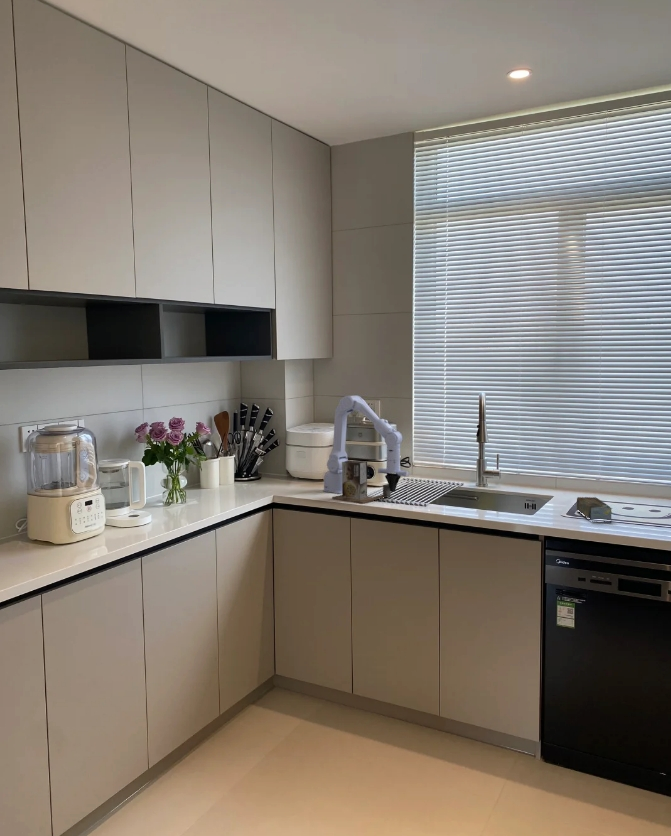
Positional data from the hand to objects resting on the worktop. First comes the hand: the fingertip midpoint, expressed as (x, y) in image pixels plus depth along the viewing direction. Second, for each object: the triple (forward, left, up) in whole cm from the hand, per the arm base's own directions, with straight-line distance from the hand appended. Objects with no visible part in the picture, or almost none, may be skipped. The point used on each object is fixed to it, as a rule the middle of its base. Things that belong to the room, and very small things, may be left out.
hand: (392, 491), depth 300 cm
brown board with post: (-10, -9, -3) cm, 14 cm away
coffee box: (-10, -13, -3) cm, 17 cm away
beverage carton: (+79, +20, -3) cm, 81 cm away
